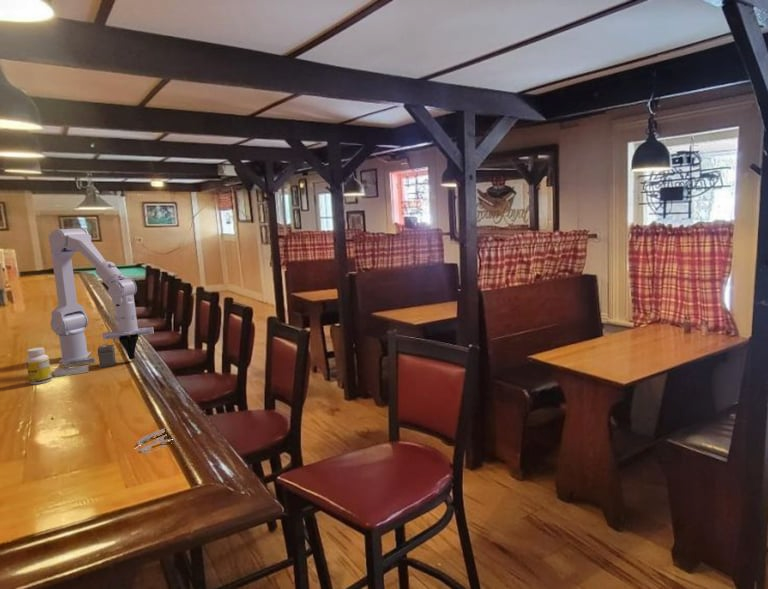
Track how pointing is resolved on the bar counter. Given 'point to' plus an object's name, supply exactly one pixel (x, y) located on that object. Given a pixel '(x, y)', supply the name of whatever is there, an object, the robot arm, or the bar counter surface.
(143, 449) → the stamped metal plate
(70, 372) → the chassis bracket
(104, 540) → the bar counter surface
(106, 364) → the servo block
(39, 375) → the supplement bottle
